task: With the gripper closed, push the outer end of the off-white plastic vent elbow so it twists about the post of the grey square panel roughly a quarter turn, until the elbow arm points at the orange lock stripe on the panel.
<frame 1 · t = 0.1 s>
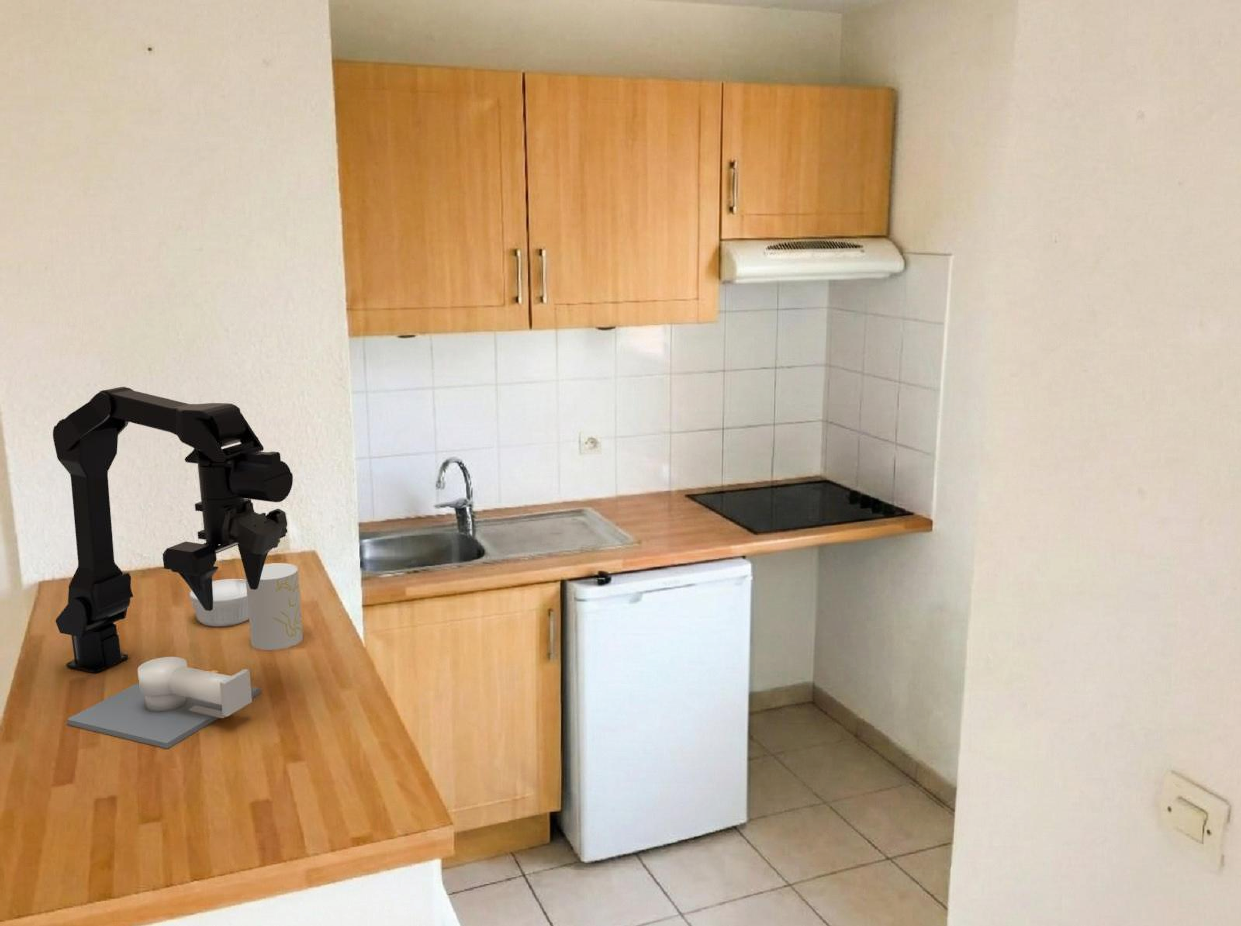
hand: (232, 599, 155), 15 cm above the table, fingers open, 9 cm apart
elbow: (191, 683, 150), point 5 cm above the table, hinge at 0.0°
ramekin: (227, 618, 188), on the table
cup: (277, 641, 178), on the table
grey square panel: (166, 708, 153), on the table
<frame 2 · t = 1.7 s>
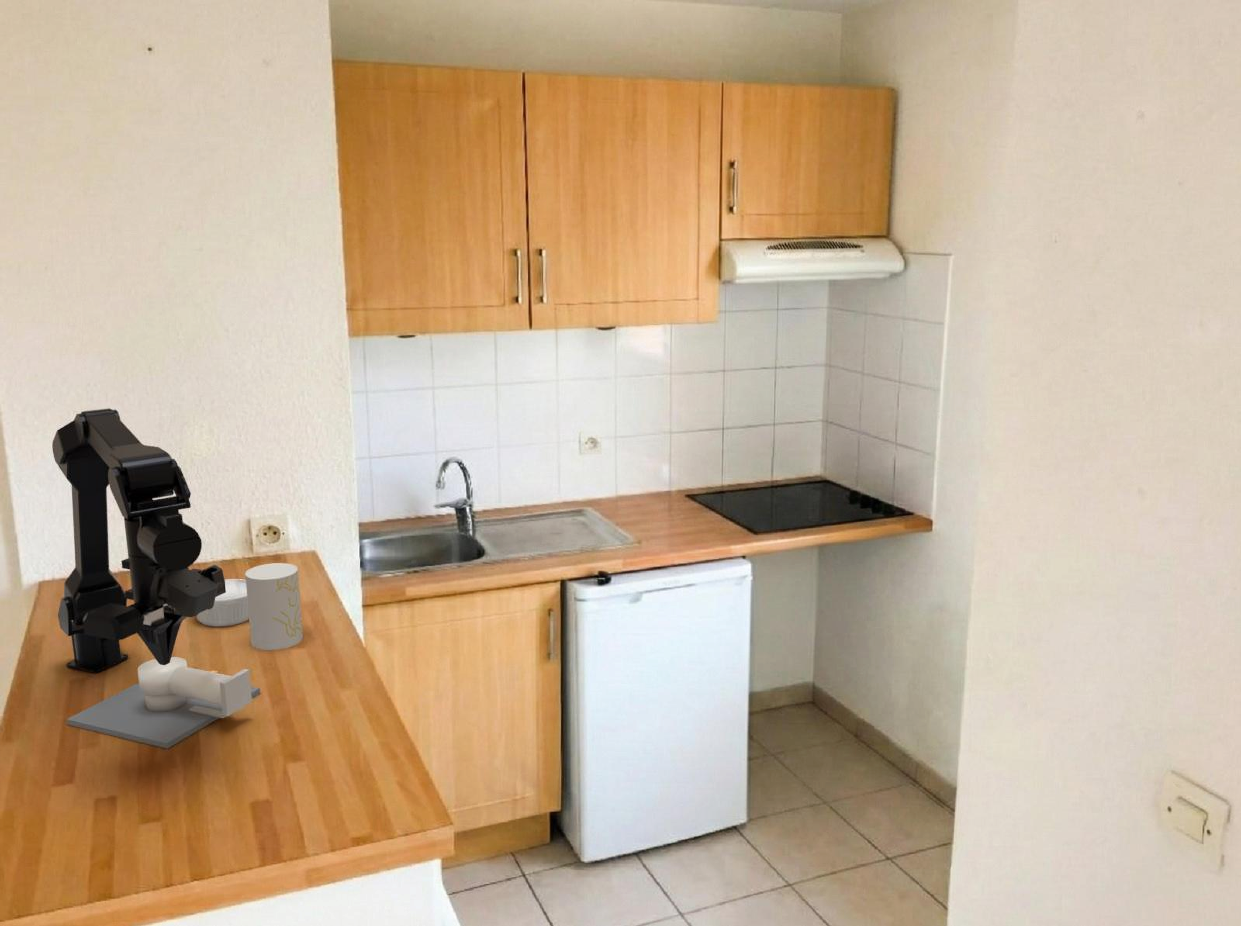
hand: (164, 663, 141), 11 cm above the table, fingers closed
nothing on the table moved.
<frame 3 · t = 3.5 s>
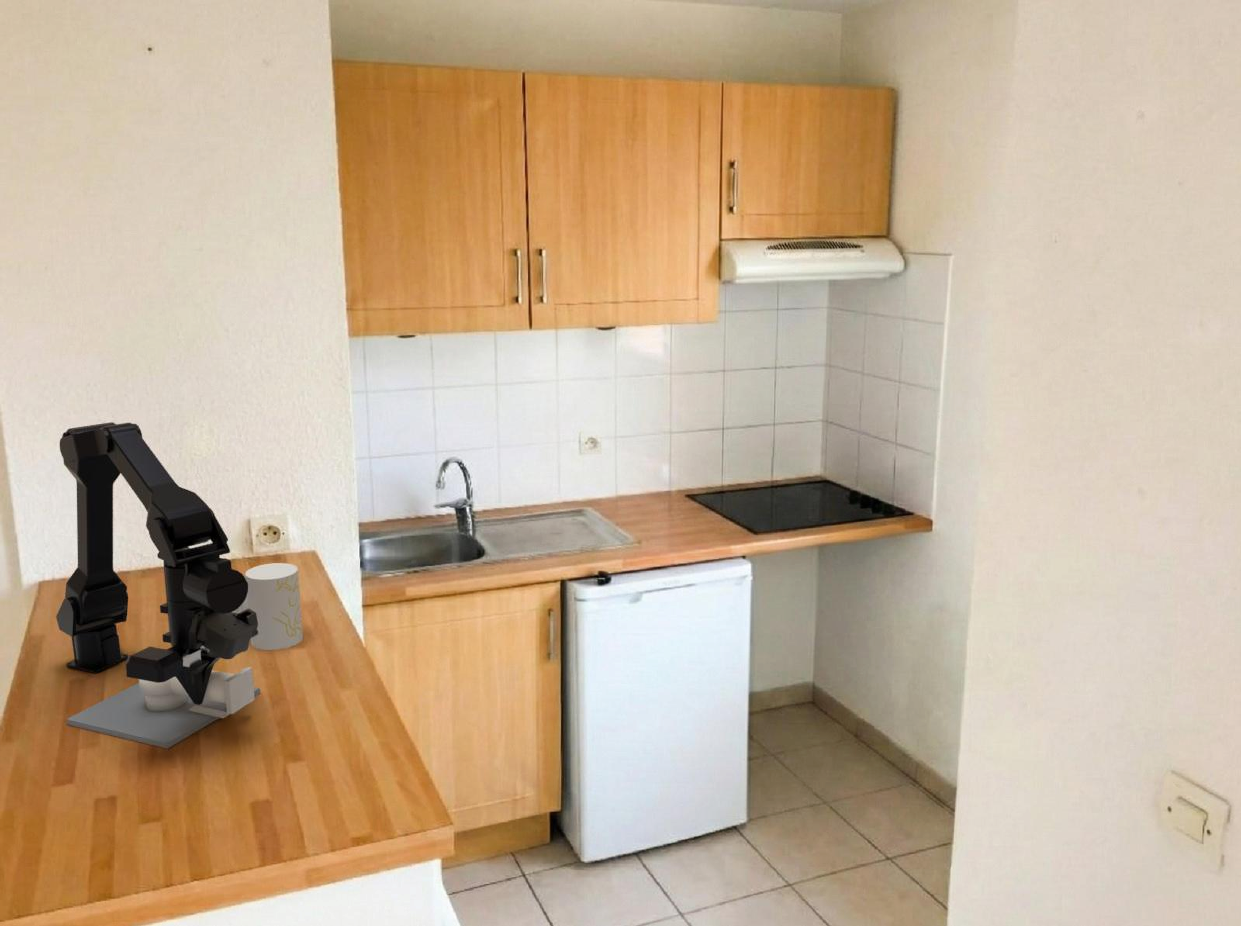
hand: (198, 703, 147), 3 cm above the table, fingers closed
elbow: (192, 682, 151), point 5 cm above the table, hinge at 3.1°, touching gripper
everything else where it was.
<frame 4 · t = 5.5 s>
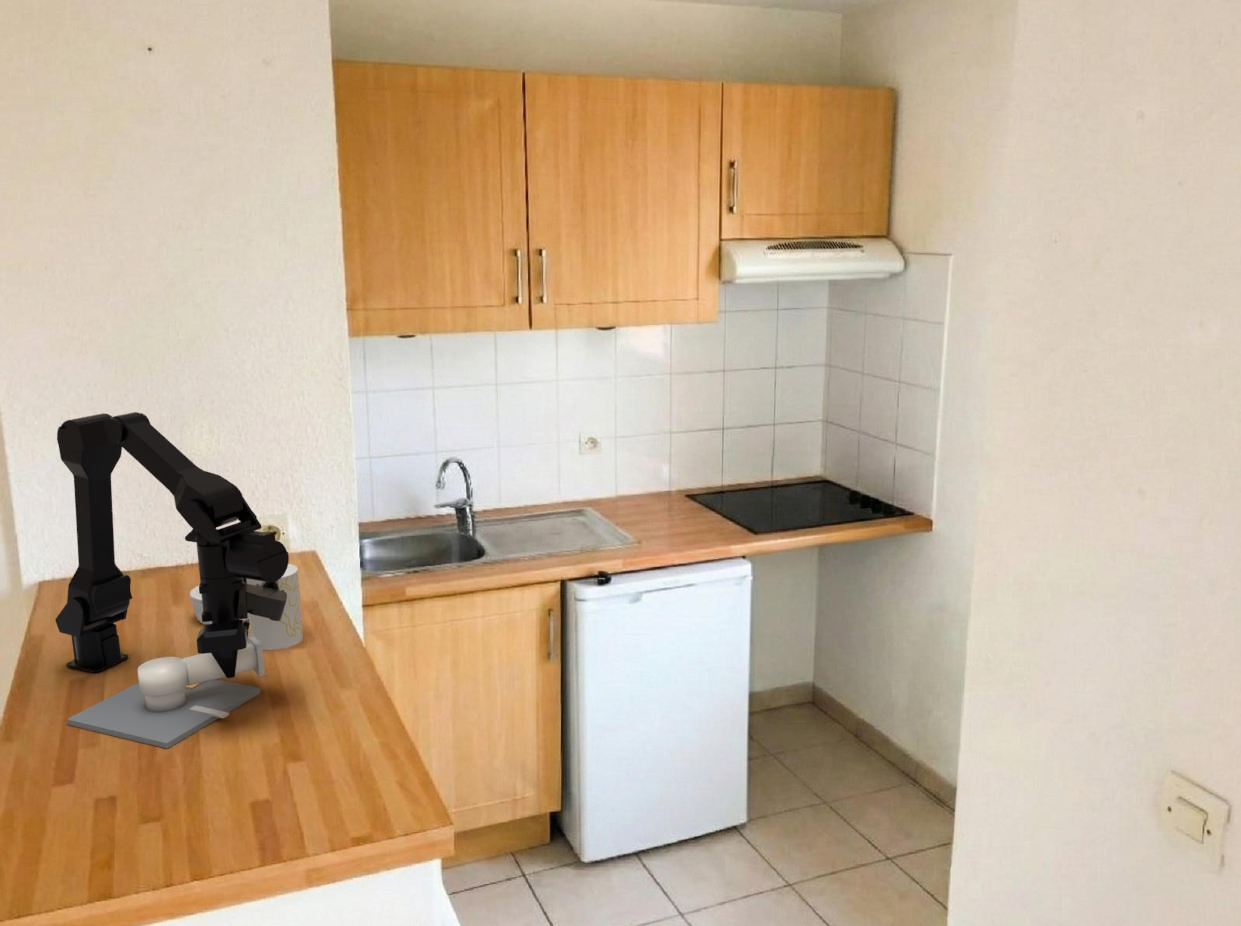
hand: (230, 677, 155), 4 cm above the table, fingers closed
elbow: (200, 668, 155), point 5 cm above the table, hinge at 57.8°, touching gripper
everything else where it was.
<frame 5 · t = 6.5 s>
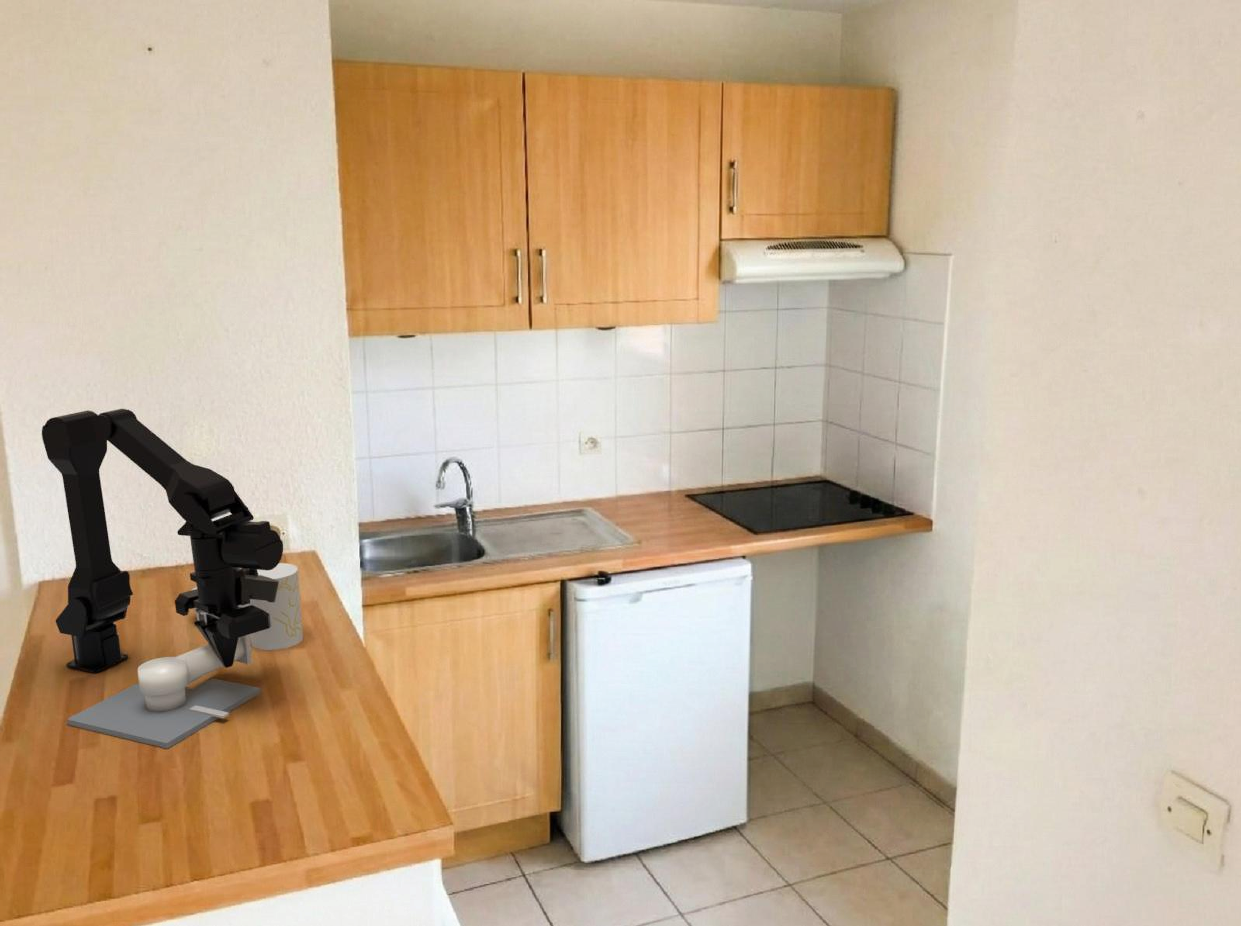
hand: (228, 666, 158), 4 cm above the table, fingers closed
elbow: (193, 664, 157), point 5 cm above the table, hinge at 81.6°, touching gripper
everything else where it was.
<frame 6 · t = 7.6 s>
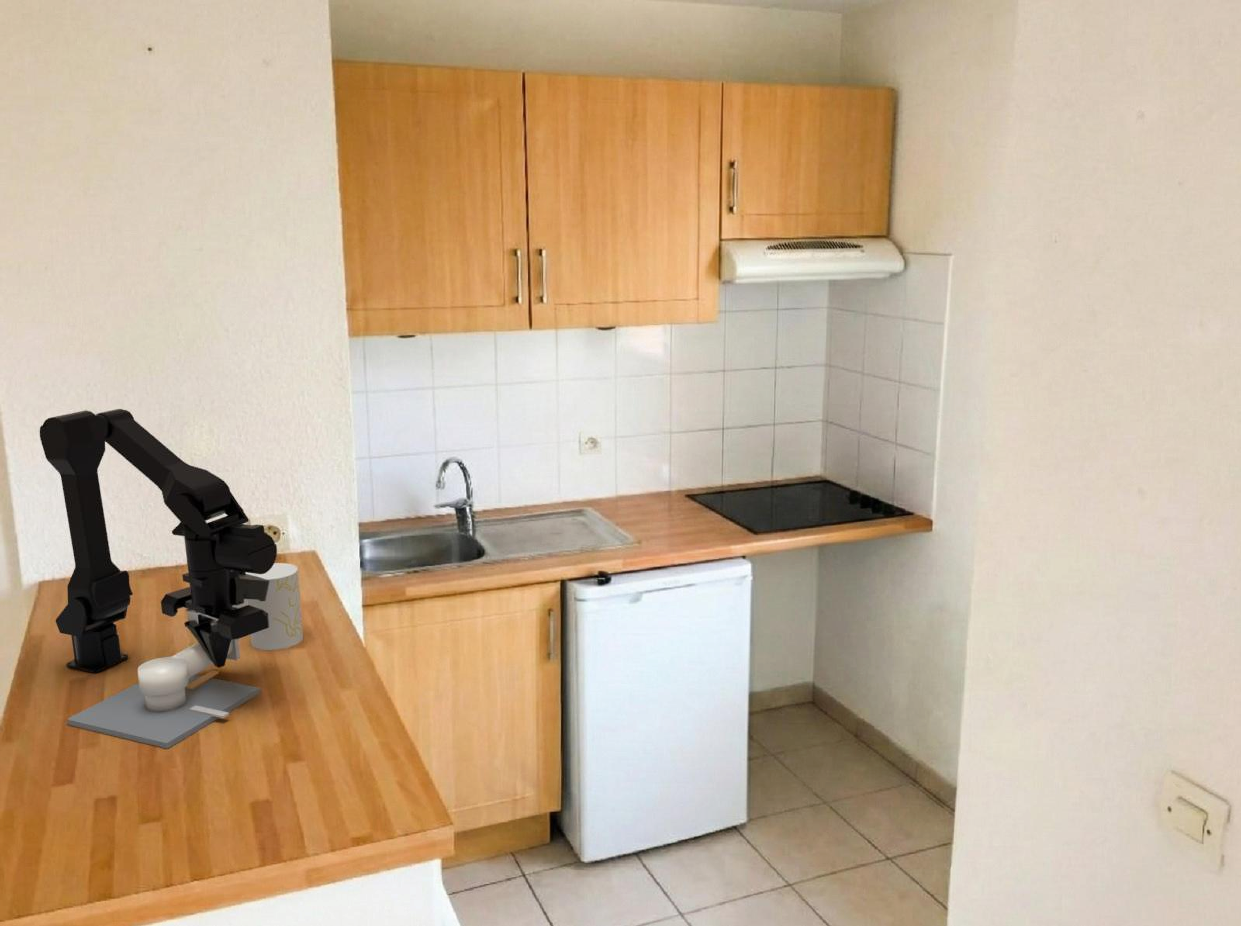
hand: (220, 666, 158), 4 cm above the table, fingers closed
elbow: (188, 663, 157), point 5 cm above the table, hinge at 93.8°
everything else where it was.
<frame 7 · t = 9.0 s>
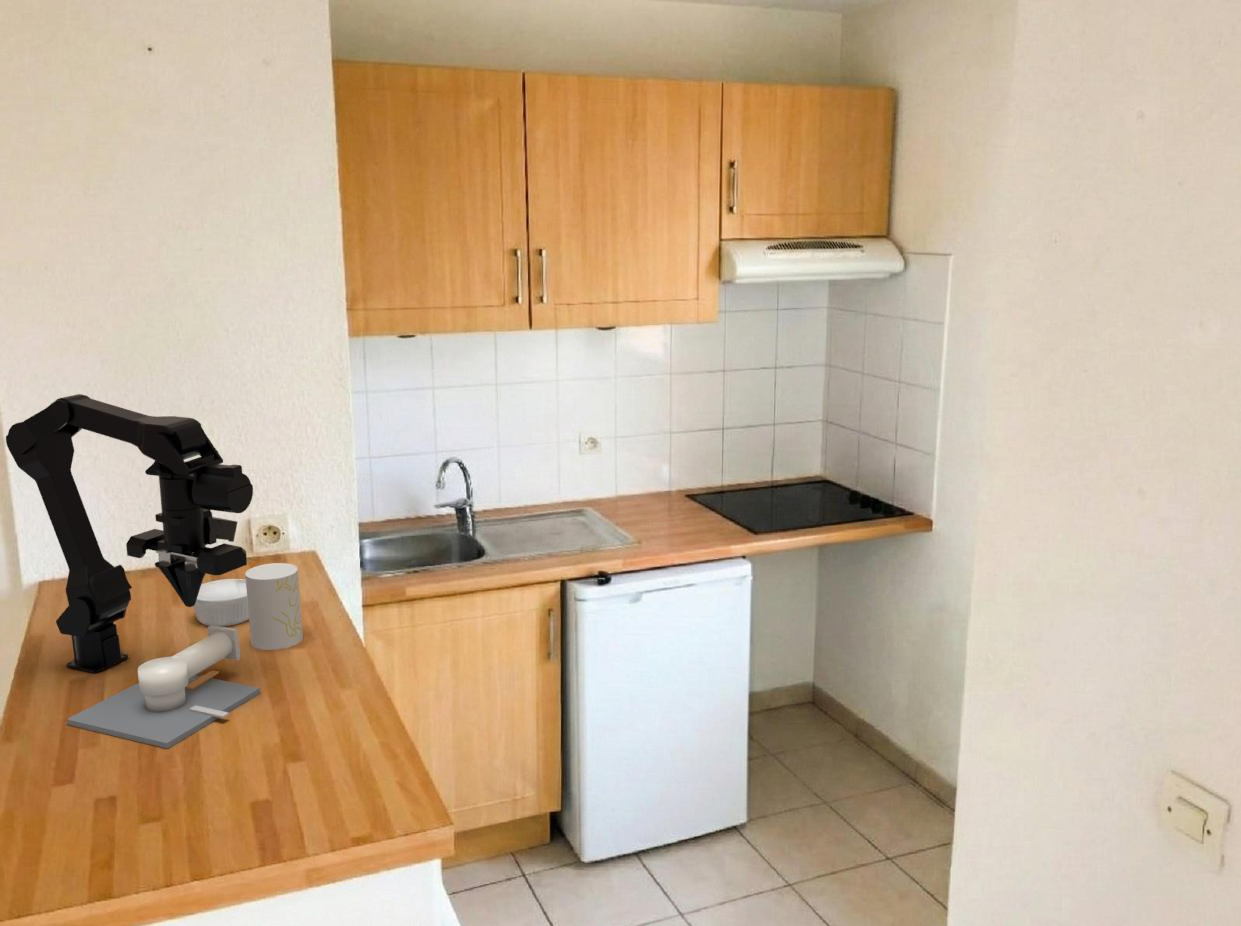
hand: (190, 605, 161), 12 cm above the table, fingers closed
nothing on the table moved.
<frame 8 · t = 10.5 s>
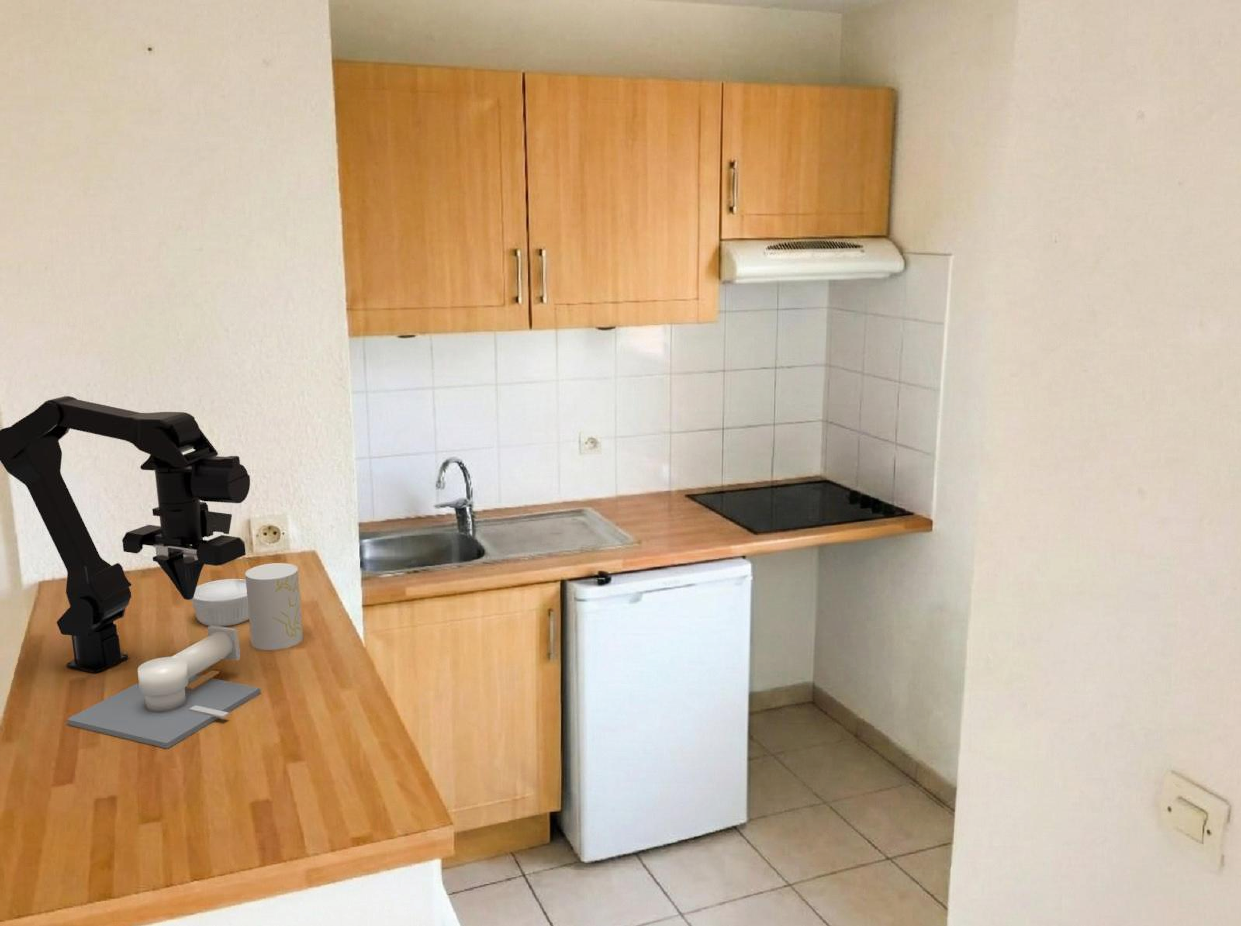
hand: (188, 598, 162), 12 cm above the table, fingers closed
nothing on the table moved.
at the end: elbow at +94° (first picture: +0°) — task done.
